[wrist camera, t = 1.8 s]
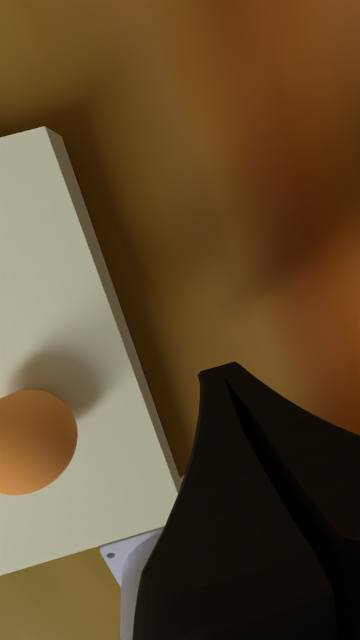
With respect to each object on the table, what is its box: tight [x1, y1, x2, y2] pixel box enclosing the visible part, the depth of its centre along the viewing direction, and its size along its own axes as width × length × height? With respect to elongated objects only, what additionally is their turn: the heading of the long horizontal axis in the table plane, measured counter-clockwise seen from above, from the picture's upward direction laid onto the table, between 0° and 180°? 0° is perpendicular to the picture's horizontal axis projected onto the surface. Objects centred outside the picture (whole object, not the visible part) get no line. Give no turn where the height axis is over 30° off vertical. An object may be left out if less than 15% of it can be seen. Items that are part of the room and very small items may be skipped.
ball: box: [0, 390, 78, 495], centre depth 11 cm, size 3×3×3 cm
